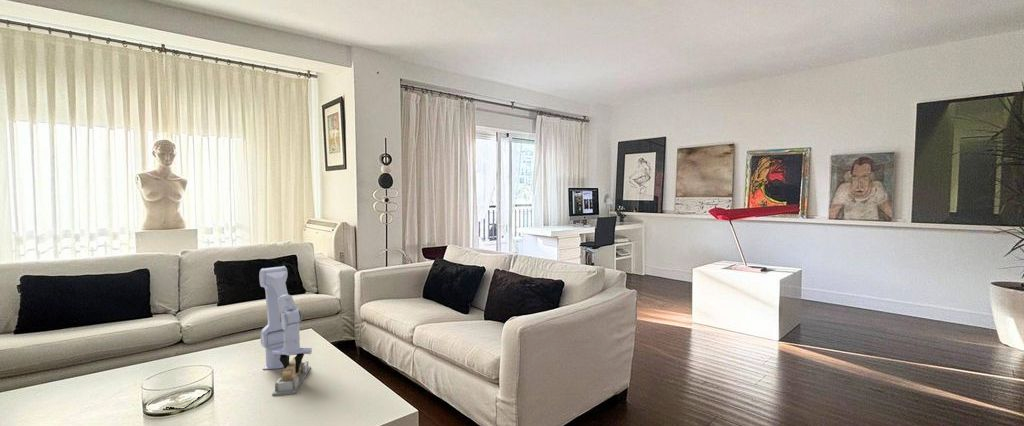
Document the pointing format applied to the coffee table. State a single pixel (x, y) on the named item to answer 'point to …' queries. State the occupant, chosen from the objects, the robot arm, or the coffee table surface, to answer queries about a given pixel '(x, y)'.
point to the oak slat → (291, 371)
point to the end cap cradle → (291, 382)
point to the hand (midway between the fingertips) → (292, 372)
